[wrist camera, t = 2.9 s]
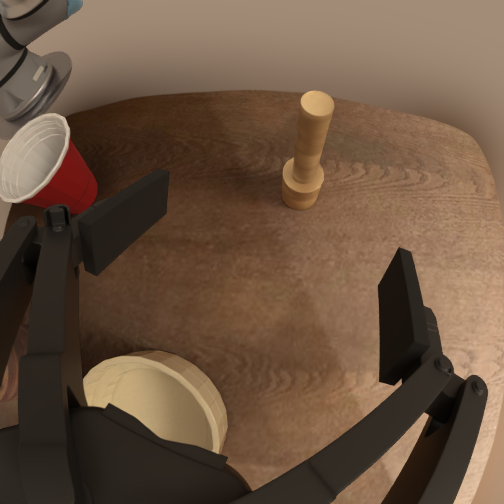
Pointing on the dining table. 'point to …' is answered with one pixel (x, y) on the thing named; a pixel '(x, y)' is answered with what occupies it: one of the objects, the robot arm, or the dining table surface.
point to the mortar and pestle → (14, 366)
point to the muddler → (307, 152)
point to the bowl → (161, 396)
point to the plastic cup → (46, 167)
